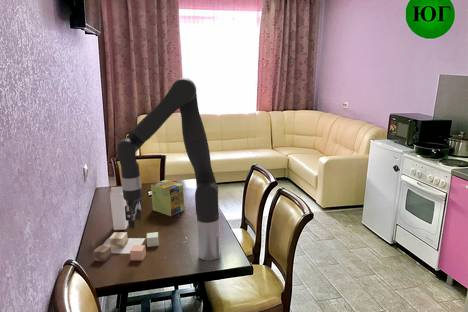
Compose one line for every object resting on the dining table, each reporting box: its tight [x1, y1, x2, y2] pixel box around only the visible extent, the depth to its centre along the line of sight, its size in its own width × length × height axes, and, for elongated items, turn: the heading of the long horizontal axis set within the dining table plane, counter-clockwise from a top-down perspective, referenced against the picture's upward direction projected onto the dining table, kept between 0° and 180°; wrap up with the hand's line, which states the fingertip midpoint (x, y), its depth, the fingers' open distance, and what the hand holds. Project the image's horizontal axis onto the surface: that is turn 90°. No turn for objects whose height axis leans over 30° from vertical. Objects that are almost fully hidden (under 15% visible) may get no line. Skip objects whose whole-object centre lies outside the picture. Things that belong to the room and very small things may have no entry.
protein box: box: [150, 179, 185, 217], centre depth 205 cm, size 10×15×16 cm
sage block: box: [146, 231, 160, 248], centre depth 167 cm, size 5×5×5 cm
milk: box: [109, 186, 129, 231], centre depth 183 cm, size 6×6×22 cm
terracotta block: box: [130, 244, 147, 261], centre depth 156 cm, size 5×5×5 cm
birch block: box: [108, 231, 128, 249], centre depth 166 cm, size 6×6×5 cm
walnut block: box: [92, 245, 113, 263], centre depth 156 cm, size 5×5×5 cm
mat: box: [101, 237, 146, 254], centre depth 167 cm, size 18×14×1 cm
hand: (135, 223), depth 152 cm, fingers open, 8 cm apart
